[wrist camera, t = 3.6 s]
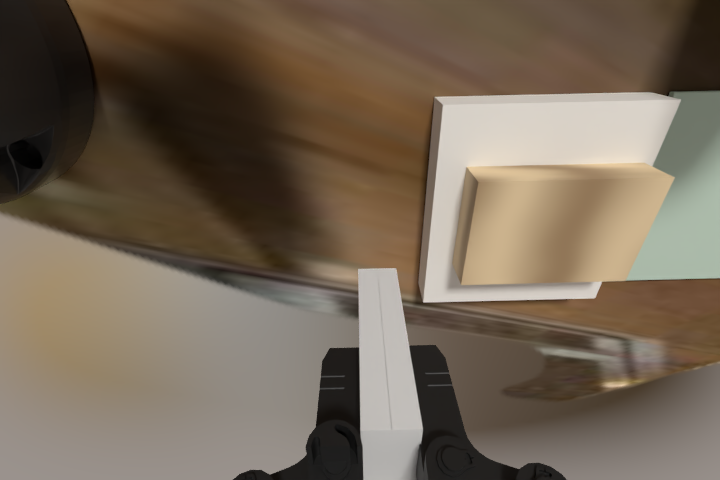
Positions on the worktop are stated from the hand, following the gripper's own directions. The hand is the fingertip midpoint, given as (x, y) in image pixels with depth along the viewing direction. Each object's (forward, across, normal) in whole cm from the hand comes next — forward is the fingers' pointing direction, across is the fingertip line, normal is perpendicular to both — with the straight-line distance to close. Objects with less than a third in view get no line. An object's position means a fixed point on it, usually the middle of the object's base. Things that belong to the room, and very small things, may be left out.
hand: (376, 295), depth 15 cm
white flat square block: (+8, +9, 0) cm, 12 cm away
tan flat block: (+6, +9, 0) cm, 11 cm away
